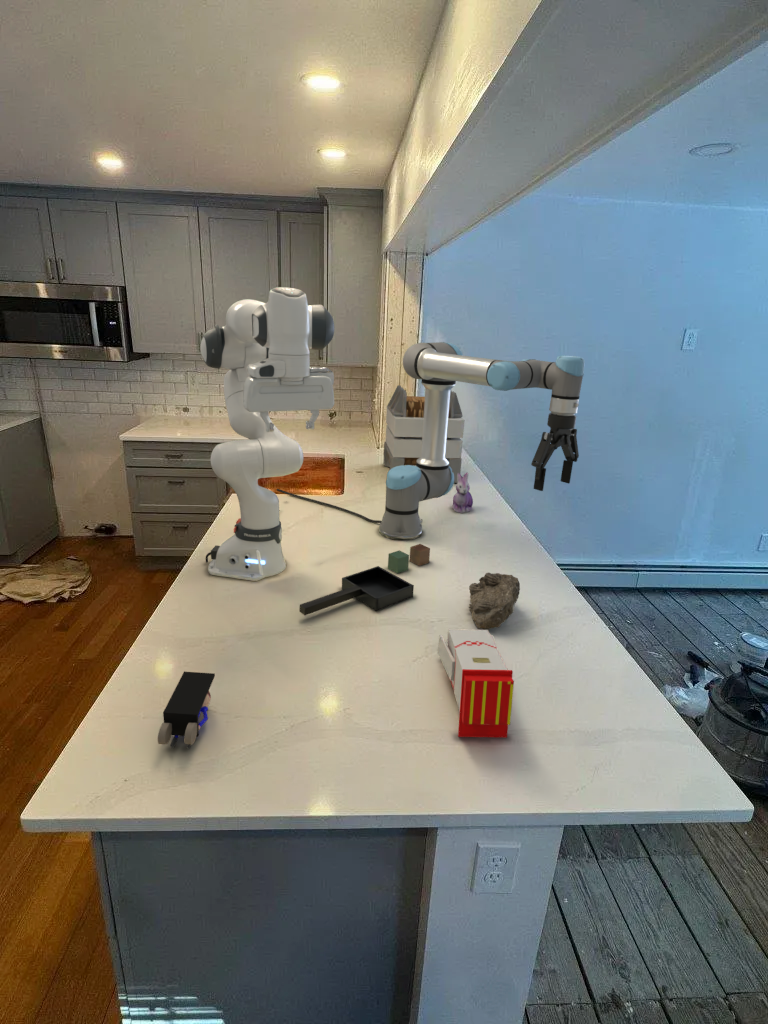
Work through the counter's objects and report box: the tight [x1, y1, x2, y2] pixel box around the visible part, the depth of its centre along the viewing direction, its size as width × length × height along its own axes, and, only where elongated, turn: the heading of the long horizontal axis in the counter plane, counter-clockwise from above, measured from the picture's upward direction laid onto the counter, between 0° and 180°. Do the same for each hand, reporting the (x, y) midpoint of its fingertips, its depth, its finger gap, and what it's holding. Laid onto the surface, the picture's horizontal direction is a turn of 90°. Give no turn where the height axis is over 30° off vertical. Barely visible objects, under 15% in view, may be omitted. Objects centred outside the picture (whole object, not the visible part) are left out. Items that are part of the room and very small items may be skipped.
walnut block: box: [409, 543, 431, 567], centre depth 178 cm, size 4×4×5 cm
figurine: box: [451, 472, 474, 514], centre depth 225 cm, size 9×10×15 cm
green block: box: [387, 550, 410, 574], centre depth 172 cm, size 4×4×5 cm
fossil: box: [468, 572, 521, 630], centre depth 149 cm, size 22×10×15 cm
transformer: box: [383, 384, 465, 484], centre depth 268 cm, size 34×33×41 cm
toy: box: [437, 628, 515, 738], centre depth 117 cm, size 12×13×30 cm
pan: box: [299, 565, 415, 616], centre depth 152 cm, size 15×31×4 cm, turn 131°
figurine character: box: [157, 670, 216, 749], centre depth 104 cm, size 7×8×15 cm
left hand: (290, 430), depth 128 cm, fingers open, 8 cm apart
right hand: (551, 486), depth 166 cm, fingers open, 13 cm apart
